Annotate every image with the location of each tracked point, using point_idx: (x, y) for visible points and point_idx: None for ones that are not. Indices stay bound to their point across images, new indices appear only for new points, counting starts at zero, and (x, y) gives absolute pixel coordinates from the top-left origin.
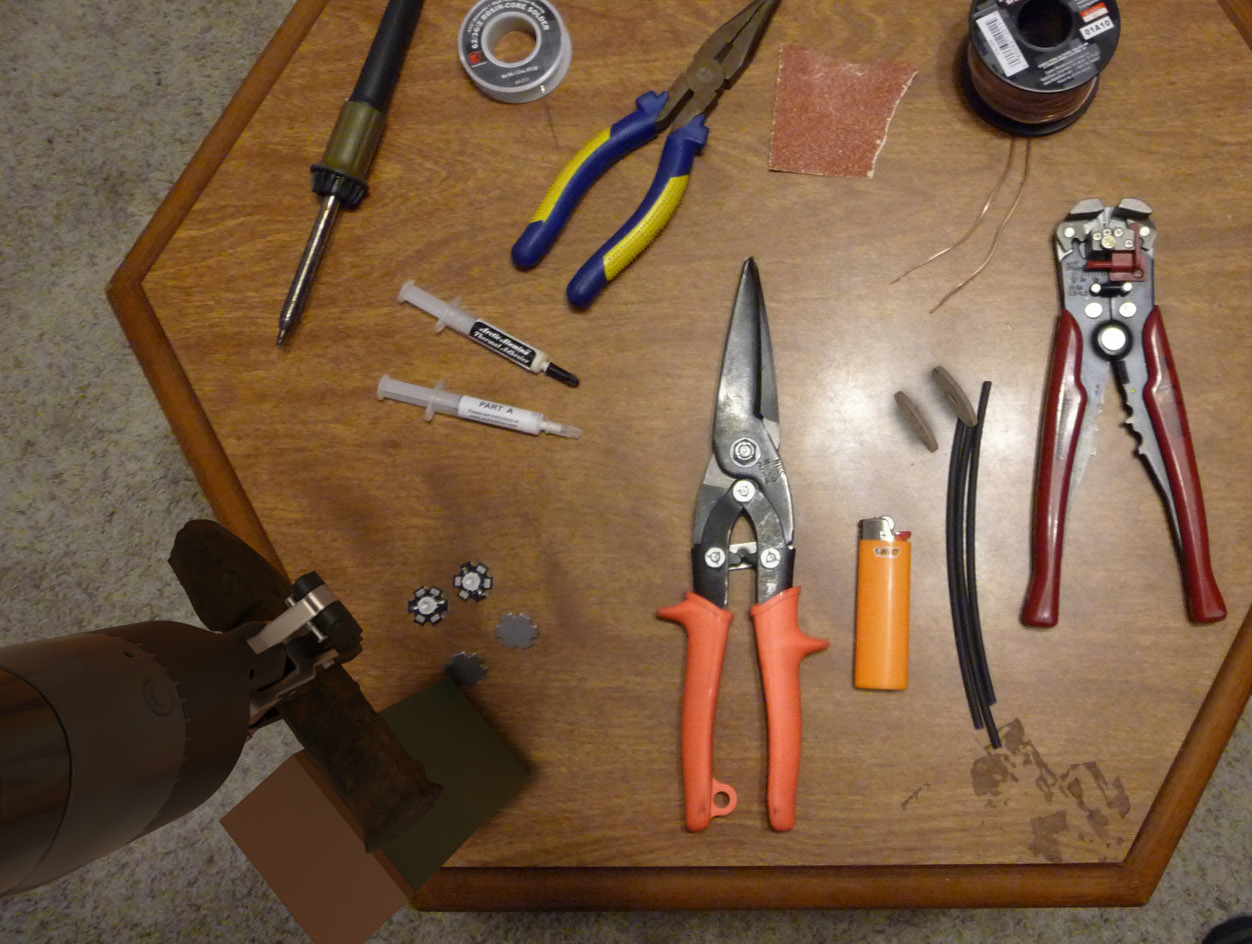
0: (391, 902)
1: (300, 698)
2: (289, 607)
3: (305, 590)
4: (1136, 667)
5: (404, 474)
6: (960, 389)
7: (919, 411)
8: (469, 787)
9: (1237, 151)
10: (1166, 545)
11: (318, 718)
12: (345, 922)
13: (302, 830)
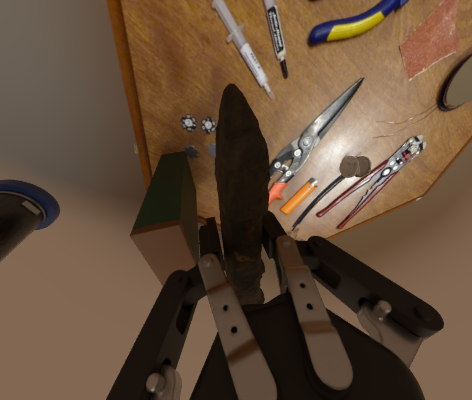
0: None
1: (246, 262)
2: (381, 313)
3: (433, 334)
4: (322, 229)
5: (204, 60)
6: (369, 170)
7: (359, 170)
8: (194, 205)
9: (447, 148)
10: (347, 214)
11: (247, 272)
12: None
13: (170, 250)
